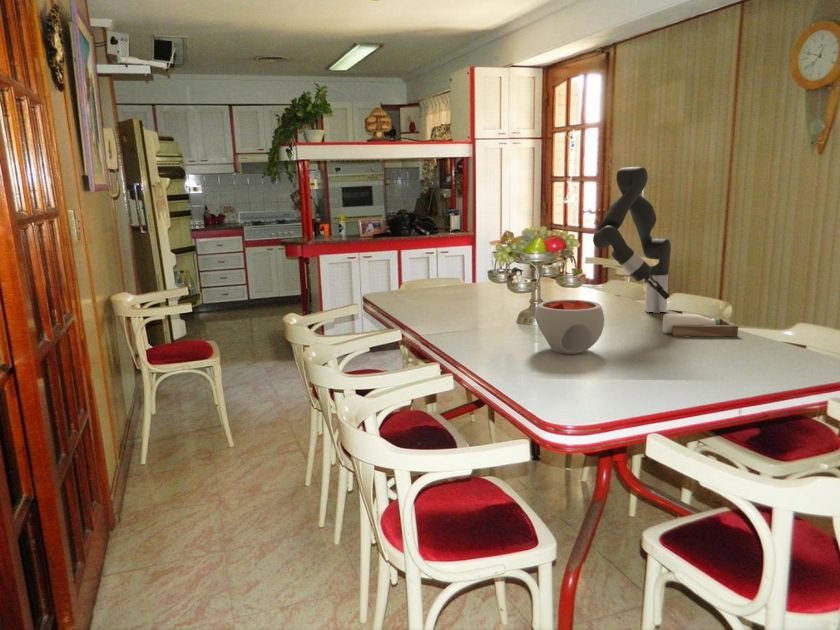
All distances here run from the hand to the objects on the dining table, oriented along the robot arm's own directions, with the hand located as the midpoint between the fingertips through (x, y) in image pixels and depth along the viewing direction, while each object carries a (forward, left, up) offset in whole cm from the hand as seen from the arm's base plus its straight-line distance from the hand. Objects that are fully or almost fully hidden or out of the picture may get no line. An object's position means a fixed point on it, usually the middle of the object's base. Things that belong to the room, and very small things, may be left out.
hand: (667, 297), depth 244 cm
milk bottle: (+2, -1, -10) cm, 10 cm away
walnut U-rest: (0, +12, -14) cm, 18 cm away
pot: (+30, -40, -14) cm, 52 cm away
